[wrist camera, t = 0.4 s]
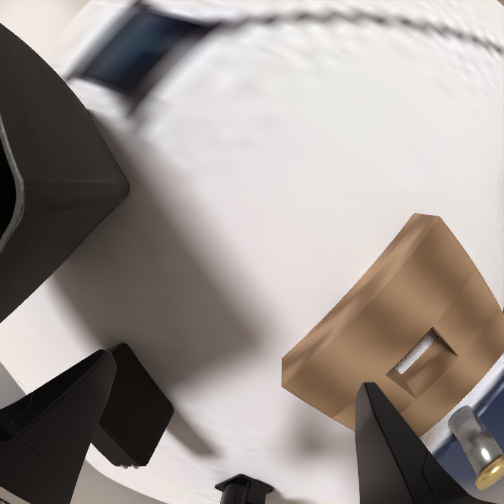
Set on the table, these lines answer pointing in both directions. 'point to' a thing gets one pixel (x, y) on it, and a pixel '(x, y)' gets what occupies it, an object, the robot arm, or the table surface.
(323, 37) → the table surface
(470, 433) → the pin
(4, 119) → the flower pot
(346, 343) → the socket block
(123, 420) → the electronic device
